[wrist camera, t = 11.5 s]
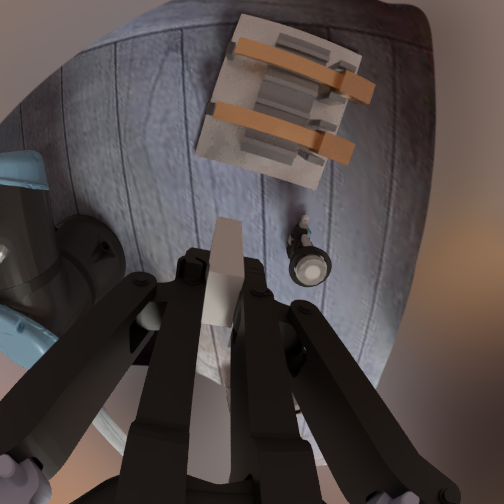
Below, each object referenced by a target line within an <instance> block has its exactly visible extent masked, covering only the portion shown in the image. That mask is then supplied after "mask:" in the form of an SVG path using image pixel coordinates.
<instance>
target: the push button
mask: <svg viewBox="0 0 504 504" xmlns="http://www.w3.org/2000/svg"><path fill="white" fill-rule="evenodd" d="M307 217H308V216H306V215H302V219H301V222H299V225H298V224H297V225H296V226H295V229H294V235H293V238H291V235H289V238H290V240H289V238H288V243H289V245H291V246H290V247H289V246H288V248H287V255H288V258H289V259H290V264H289V273H290V276H291V278H292V280H293V281H294V282H295V283H296V284H298V285H300V286H303V287H313V286H316V285H319V284H320V283H322V282H323V281H325V280H326V278H327V277H328V276H329V274H330V272H331V268H332V264H331V260H330V258H329V256H328V254H327V253H326V252H325V251H323V250H321V249H319V248H317V247H314V246H313V244H312V242H311V241H310V236H311V231H310V229H309V228H308V225H307V224H308V221H309V218H307ZM306 221H307V222H306ZM320 255H321V256H322V257H323V258H324V260H323V259H322V258H321V256H320ZM294 267H295V269H296V270H295V271H294ZM295 272H296V273H295Z"/></svg>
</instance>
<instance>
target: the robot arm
mask: <svg viewBox="0 0 504 504" xmlns="http://www.w3.org/2000/svg"><path fill="white" fill-rule="evenodd" d="M49 190H50V187H49V185H48V183H47V177H46V171H45V165H44V160H43V157H42V156H41V154H40V153H39V152H37V151H35V150H22V151H13V152H6V153H0V351H1V352H2V353H4V354H5V355H6V356H7V357H8V358H10V359H11V360H12V361H14V362H15V363H17V364H18V365H20V366H22V367H24V368H26V369H28V371H27V372H26V373H25V374H24V375H23V377H22V378H21V379H20V380H19V381H18V382H17V383H16V384H15V385H14V386H13V388H12V389H11V390H10V391H9V392H8V393H7V394H6V395H5V396H4V398H3V399H2V400H1V401H0V504H47V503H48V502H49V500H50V498H51V495H52V492H51V486H50V483H49V481H48V480H50V479H51V478H52V477H53V476H54V475H55V474H56V473H57V472H58V471H59V470H60V469H61V467H62V466H63V465H64V463H65V462H66V461H67V459H68V458H69V456H70V455H71V453H72V452H73V450H74V449H75V447H76V445H77V444H78V442H79V441H80V439H81V438H82V436H83V435H84V433H85V432H86V430H87V429H88V427H89V426H90V424H91V423H92V421H93V420H94V418H95V417H96V415H97V414H98V412H99V411H100V409H101V408H102V406H103V405H104V403H105V402H106V400H107V399H108V397H109V396H110V394H111V393H112V392H113V390H114V389H115V387H116V386H117V384H118V383H119V382H120V380H121V379H122V377H123V376H124V374H125V373H126V371H127V370H128V368H129V367H130V366H131V364H132V363H133V362H134V360H135V359H136V357H137V356H138V354H139V353H140V352H141V350H142V349H143V347H144V346H145V345H146V343H147V342H148V340H149V339H150V338H151V336H152V335H153V333H154V330H159V332H158V336H157V339H156V343H155V346H154V350H153V353H152V357H151V360H150V364H149V368H148V372H147V376H146V379H145V383H144V387H143V391H142V395H141V399H140V403H139V407H138V411H137V416H136V419H135V421H134V422H132V423H131V426H130V429H129V432H128V436H127V441H126V445H125V450H124V455H123V460H122V465H121V470H120V475H117V476H115V477H112V478H110V479H107V480H105V481H104V482H102V483H100V484H99V485H98V486H96V487H95V488H93V489H91V490H90V491H89V492H87V493H85V494H84V495H82V496H81V497H79V498H78V499H76V500H74V501H73V502H71V503H69V504H326V503H325V502H324V501H323V500H322V496H321V491H320V485H319V480H318V475H317V470H316V465H315V459H314V454H313V450H312V447H311V444H310V443H309V442H308V441H307V440H304V439H302V438H301V437H300V433H299V428H298V422H297V417H296V411H295V406H294V400H293V395H294V398H295V400H296V402H297V404H298V406H299V408H300V410H301V412H302V414H303V416H304V418H305V420H306V422H307V424H308V426H309V429H310V431H311V433H312V435H313V437H314V439H315V441H316V443H317V445H318V447H319V449H320V451H321V453H322V455H323V457H324V459H325V461H326V463H327V465H328V467H329V469H330V471H331V473H332V475H333V477H334V479H335V480H336V482H337V484H338V486H339V488H340V490H341V491H342V493H343V495H344V497H345V498H346V500H347V501H348V502H349V503H350V504H460V501H461V493H460V491H459V488H458V486H457V485H456V484H455V483H454V482H453V481H451V480H450V479H449V478H448V477H446V476H445V475H444V474H442V473H441V472H440V471H439V470H438V469H436V468H435V467H434V466H433V465H431V464H430V463H429V462H428V461H426V460H425V459H424V458H422V456H420V455H419V454H418V452H417V450H416V449H415V447H414V446H413V445H412V443H411V441H410V440H409V439H408V437H407V435H406V434H405V432H404V431H403V430H402V428H401V427H400V425H399V424H398V422H397V421H396V419H395V418H394V416H393V415H392V413H391V412H390V410H389V409H388V407H387V406H386V404H385V403H384V401H383V400H382V399H381V397H380V396H379V394H378V393H377V391H376V390H375V388H374V387H373V385H372V384H371V383H370V381H369V380H368V378H367V377H366V375H365V374H364V372H363V371H362V370H361V368H360V367H359V365H358V364H357V362H356V361H355V360H354V358H353V357H352V355H351V354H350V352H349V351H348V350H347V348H346V347H345V345H344V344H343V343H342V341H341V340H340V338H339V337H338V335H337V334H336V333H335V331H334V330H333V328H332V327H331V326H330V324H329V323H328V321H327V320H326V319H325V317H324V316H323V314H322V313H321V312H320V310H319V309H318V308H317V307H316V306H315V305H314V304H312V303H311V302H309V301H306V300H294V301H293V302H291V305H290V306H288V305H285V304H282V303H280V302H278V301H276V300H274V295H273V293H272V291H271V290H270V289H268V288H267V284H266V279H265V273H264V267H263V264H262V263H261V262H260V261H259V260H258V259H254V258H248V257H243V241H242V222H241V221H238V220H233V219H228V218H223V217H218V216H217V220H216V225H215V230H214V235H213V240H212V245H211V250H210V251H208V250H203V249H198V248H193V247H192V248H190V249H189V250H187V251H186V254H185V256H182V257H180V258H179V259H178V262H177V270H176V278H175V280H173V281H171V282H165V283H157V280H156V278H155V277H154V276H153V275H151V274H149V273H146V272H133V273H130V274H129V275H127V276H126V277H125V278H124V275H125V269H126V262H125V256H124V252H123V249H122V247H121V245H120V243H119V241H118V239H117V238H116V236H115V235H114V233H113V232H112V231H111V230H110V229H109V228H108V227H107V226H106V225H105V224H103V223H102V222H100V221H99V220H97V219H95V218H93V217H90V216H86V215H74V216H70V217H68V218H66V219H64V220H63V221H62V222H60V223H59V224H58V225H57V226H54V221H53V216H52V210H51V204H50V197H49ZM123 278H124V279H123ZM201 323H206V324H211V325H217V326H223V327H229V328H231V327H232V323H233V329H232V333H231V336H230V340H229V344H228V347H230V346H231V379H230V412H231V473H230V478H229V483H227V484H214V483H211V482H207V481H204V480H201V479H198V478H196V477H192V476H190V475H187V463H188V449H189V427H190V415H191V406H192V395H193V387H194V377H195V369H196V360H197V352H198V344H199V336H200V328H201ZM304 347H305V349H306V350H305V349H304ZM292 393H293V395H292Z"/></svg>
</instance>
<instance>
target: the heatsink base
mask: <svg viewBox="0 0 504 504" xmlns="http://www.w3.org/2000/svg"><path fill="white" fill-rule="evenodd" d="M240 37H243V38H246V39H250V40H253V41H257V42H260V43H263V44H266V45H269V46H272V47H276V48H278V49H281V50H284V51H287V52H290V53H293V54H295V55H298V56H301V57H303V58H306V59H308V60H311V61H313V62H316V63H318V64H320V65H323V66H325V67H327V68H329V69H332V70H334V71H336V72H339V71H343V70H349V71H351V72H353V73H355V74H357V71H358V68H359V64H360V61H361V58H362V56H361V55H359V54H356V53H354V52H352V51H350V50H348V49H346V48H343V47H341V46H339V45H337V44H334V43H332V42H329V41H327V40H325V39H322V38H319V37H317V36H314V35H312V34H309V33H306V32H303V31H301V30H298V29H295V28H292V27H289V26H286V25H282V24H279V23H276V22H272V21H269V20H265V19H262V18H258V17H254V16H250V15H246V14H241V17H240V19H239V22H238V24H237V27H236V29H235V32H234V35H233V37H232V40H231V41H229V43H228V46H227V49H226V51H225V54H226V56H225V59H224V62H223V65H222V68H221V71H220V74H219V77H218V80H217V83H216V86H215V89H214V92H213V95H212V98H211V101H210V102H208V105H207V108H206V112H205V114H206V118H205V121H204V124H203V128H202V131H201V135H200V138H199V142H198V146H197V149H196V153H195V155H196V156H200V157H204V158H208V159H212V160H216V161H219V162H223V163H227V164H230V165H234V166H238V167H241V168H245V169H248V170H252V171H255V172H258V173H262V174H265V175H268V176H272V177H275V178H278V179H281V180H285V181H288V182H291V183H294V184H297V185H300V186H303V187H306V188H309V189H312V190H315V191H316V188H317V186H318V183H319V180H320V178H321V175H322V172H323V169H324V167H325V164H326V161H327V159H328V158H327V157H324V156H321V155H318V154H316V153H314V152H312V151H310V150H309V147H307V146H304V145H302V144H299V143H296V142H293V141H290V140H287V139H284V138H281V137H278V136H275V135H271V134H268V133H265V132H262V131H258V130H255V129H252V128H248V127H245V126H241V125H237V124H234V123H230V122H226V121H222V120H218V119H214V118H213V114H214V111H215V108H216V105H217V102H218V101H220V102H224V103H228V104H231V105H235V106H239V107H242V108H246V109H249V110H253V111H256V112H259V113H263V114H266V115H269V116H272V117H275V118H278V119H281V120H284V121H287V122H290V123H293V124H296V125H299V126H301V127H304V128H307V129H310V130H312V131H315V130H316V129H317V130H322V131H326V132H328V133H331V134H333V135H336V133H337V130H338V128H339V125H340V122H341V119H342V116H343V113H344V110H345V107H346V104H347V101H348V100H346V99H347V98H345V97H342V96H340V95H338V94H335V93H333V92H329V89H330V87H327V86H325V85H323V84H320V83H318V82H315V81H313V80H311V79H308V78H305V77H303V76H300V75H298V74H295V73H292V72H290V71H287V70H284V69H281V68H278V67H275V66H272V65H269V64H266V63H263V62H260V61H256V60H253V59H250V58H246V57H243V56H239V55H235V54H234V51H235V49H236V46H237V43H238V40H239V38H240Z"/></svg>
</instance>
